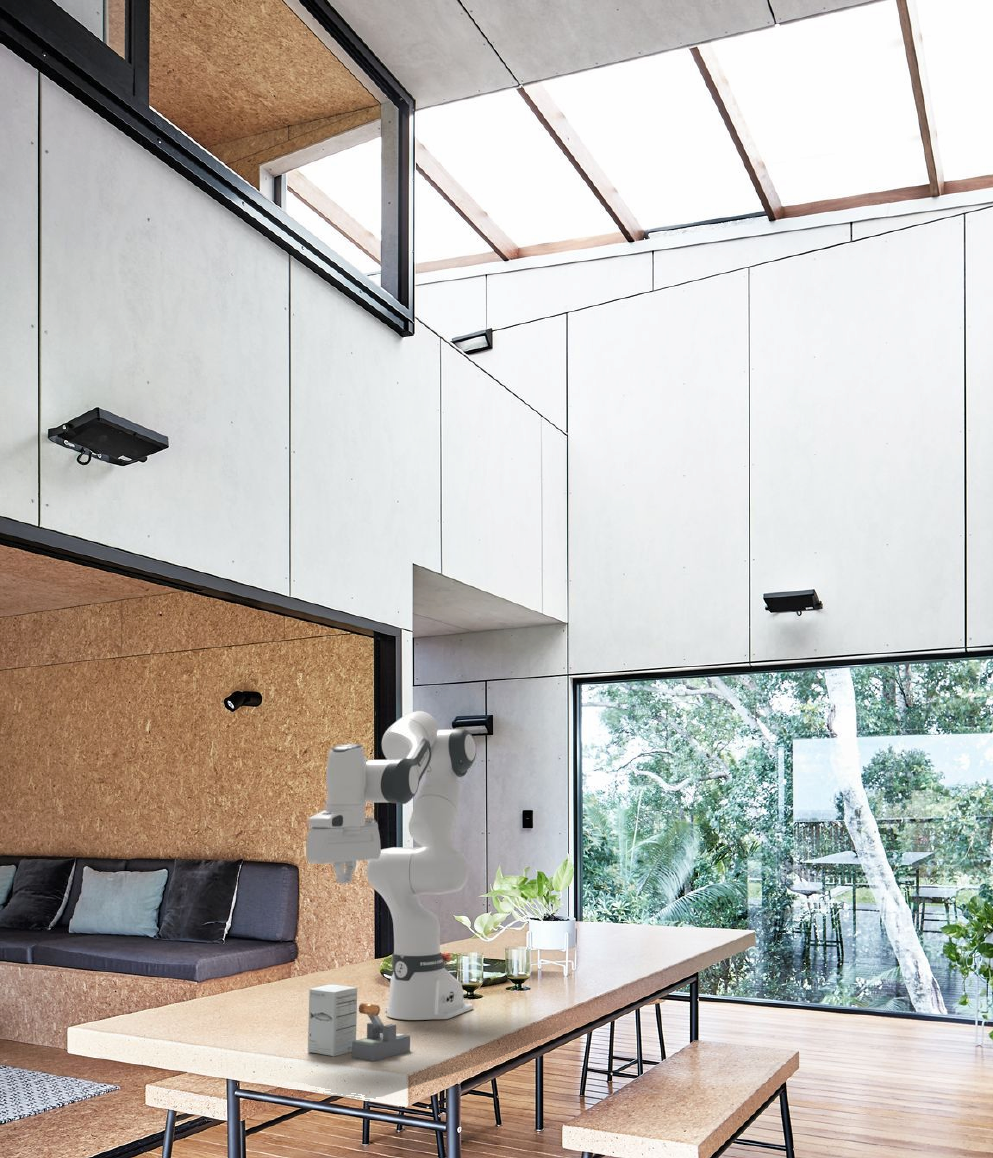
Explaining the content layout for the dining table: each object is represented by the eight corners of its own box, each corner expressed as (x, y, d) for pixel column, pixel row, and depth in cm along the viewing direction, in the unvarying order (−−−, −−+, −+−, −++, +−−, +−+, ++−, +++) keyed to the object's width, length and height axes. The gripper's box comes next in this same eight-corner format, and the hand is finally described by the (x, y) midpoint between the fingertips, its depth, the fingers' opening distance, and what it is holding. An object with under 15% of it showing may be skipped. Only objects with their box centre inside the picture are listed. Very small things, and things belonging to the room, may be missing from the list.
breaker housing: (388, 1046, 239) (388, 1017, 240) (410, 1050, 236) (410, 1021, 237) (351, 1057, 231) (352, 1026, 232) (374, 1061, 227) (374, 1030, 228)
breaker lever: (378, 1027, 236) (362, 1000, 233) (392, 1029, 234) (377, 1002, 231) (372, 1034, 235) (357, 1008, 232) (387, 1037, 232) (371, 1010, 230)
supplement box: (306, 1052, 235) (307, 988, 237) (330, 1045, 241) (331, 983, 243) (333, 1057, 231) (334, 991, 233) (357, 1050, 237) (358, 986, 239)
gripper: (366, 816, 262) (366, 878, 260) (302, 819, 246) (300, 885, 243) (387, 817, 258) (386, 880, 256) (323, 819, 242) (322, 886, 240)
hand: (344, 882), depth 250 cm, fingers closed
